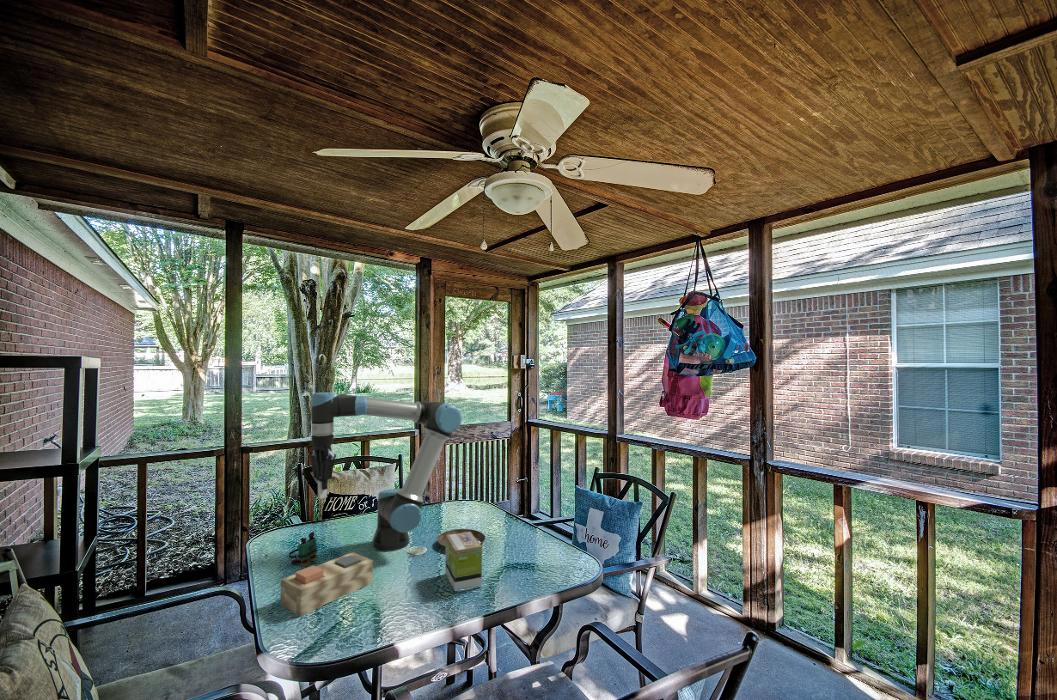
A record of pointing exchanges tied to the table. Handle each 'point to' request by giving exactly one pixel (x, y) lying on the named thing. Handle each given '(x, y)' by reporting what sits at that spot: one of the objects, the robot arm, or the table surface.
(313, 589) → the frame
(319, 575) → the terracotta plunger
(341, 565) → the gray block
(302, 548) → the binoculars
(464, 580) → the tea box
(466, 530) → the plant saucer
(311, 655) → the table surface
